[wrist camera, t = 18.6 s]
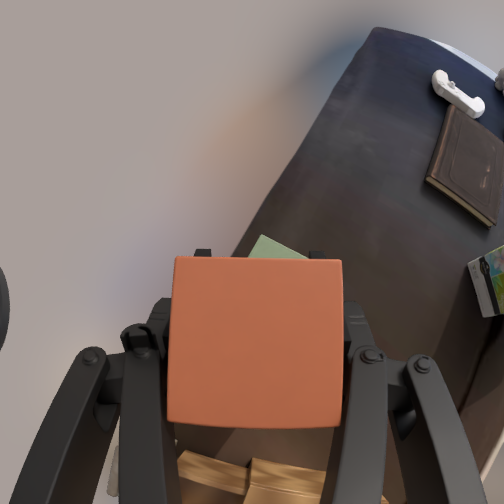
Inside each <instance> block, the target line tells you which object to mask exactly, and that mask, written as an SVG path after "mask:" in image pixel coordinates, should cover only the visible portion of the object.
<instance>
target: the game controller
mask: <svg viewBox="0 0 504 504" xmlns="http://www.w3.org/2000/svg"><path fill="white" fill-rule="evenodd" d="M432 86H433V88H434V90H435V92H436V93H437V94H438V95H439V96H442V97H443V98H445V99H446V100H447V101H449V102H450V103H452V104H453V105H454V106H456V107H457V108H459V109H460V110H462V111H463V112H464V113H466V114H467V115H469V116H470V117H471V118H478V117H480V116H481V115H482V114H483V112H484V109H485V106H484V102H483V101H482V100H481V99H480V98H479V97H476V98H474V99H472V98H470V97H468V96H467V95H466V94H464V93H463V92H462V91H460V90H459V89H458V88H456V87H455V83H454V82H453V81H451V82H449V80H448V75H447V73H445V72H444V71H442V70H438V71H436V72H435V73H434V74H433V77H432Z"/></svg>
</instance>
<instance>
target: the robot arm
mask: <svg viewBox="0 0 504 504" xmlns="http://www.w3.org/2000/svg"><path fill="white" fill-rule="evenodd" d="M193 257H211V249H196V251H195V254H194V256H193ZM309 259H326V256H325V253H324V251H309ZM170 312H171V298H161V299H160V300H159V301H158V302H157V303H156V304H155V305H154V307H153V310H152V313H151V314H150V316H149V319H148V321H147V323H146V324H139V323H138V324H133V325H131V326H129V327H127V328H125V329H124V330H123V331H122V334H121V335H120V338H121V341H122V344H123V347H124V350H125V352H124V353H119V354H111V355H106V353H105V351H104V350H103V349H102V348H99V347H88V348H85V349H83V350H82V351H80V352H79V354H78V355H77V356H76V358H75V360H74V362H73V363H72V365H71V367H70V369H69V371H68V373H67V374H66V376H65V378H64V380H63V382H62V384H61V386H60V388H59V390H58V392H57V394H56V396H55V397H54V399H53V401H52V403H51V406H50V408H49V410H48V412H47V414H46V416H45V418H44V420H43V422H42V424H41V426H40V429H39V431H38V433H37V435H36V437H35V439H34V442H33V444H32V446H31V449H30V451H29V453H28V456H27V458H26V460H25V463H24V465H23V468H22V470H21V473H20V475H19V478H18V480H17V483H16V485H15V488H14V491H13V493H12V497H11V499H10V502H9V504H92V503H93V499H94V495H95V492H96V488H97V485H98V481H99V478H100V475H101V471H102V468H103V465H104V462H105V459H106V455H107V452H108V449H109V446H110V443H111V440H112V437H113V434H114V431H115V428H116V424H117V421H118V419H119V416H120V426H119V451H118V495H119V504H182V497H181V489H180V481H179V473H178V464H177V454H176V444H175V432H174V423H173V422H169V421H167V373H168V347H169V328H170ZM343 322H344V348H343V390H342V411H341V424H340V426H339V427H335V428H334V434H333V440H332V446H331V451H330V456H329V461H328V466H327V471H326V476H325V481H324V485H323V490H322V494H321V498H320V503H319V504H381V499H382V490H383V481H384V470H385V457H386V441H387V413H388V417H389V421H390V425H391V429H392V433H393V437H394V441H395V445H396V450H397V454H398V458H399V463H400V468H401V472H402V477H403V482H404V487H405V493H406V498H407V504H487V500H486V496H485V492H484V489H483V485H482V482H481V478H480V475H479V472H478V469H477V465H476V462H475V459H474V456H473V453H472V450H471V447H470V445H469V442H468V439H467V436H466V433H465V431H464V428H463V425H462V423H461V420H460V418H459V415H458V413H457V410H456V408H455V405H454V403H453V400H452V398H451V395H450V393H449V391H448V388H447V386H446V384H445V381H444V379H443V377H442V375H441V372H440V370H439V368H438V366H437V364H436V362H435V361H434V360H433V359H432V358H430V357H429V356H426V355H424V354H415V355H412V356H411V357H410V358H408V361H407V362H404V361H398V360H393V359H390V358H388V357H386V354H385V353H384V352H383V351H382V350H381V349H380V348H378V347H376V344H375V342H374V339H373V336H372V333H371V331H370V328H369V325H368V324H367V323H368V322H367V320H366V318H365V314H364V312H363V309H362V308H361V307H360V306H359V305H358V304H357V303H356V302H355V301H343Z"/></svg>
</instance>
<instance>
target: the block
mask: <svg viewBox="0 0 504 504" xmlns="http://www.w3.org/2000/svg"><path fill="white" fill-rule="evenodd" d="M343 348H344V322H343V279H342V262H341V260H339V259H286V258H236V257H192V256H188V257H187V256H177V257H176V258H175V263H174V274H173V285H172V298H171V312H170V328H169V347H168V373H167V421H169V422H173V423H181V424H190V425H199V426H210V427H223V428H241V429H315V428H332V427H339V426H340V424H341V411H342V390H343Z"/></svg>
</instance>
